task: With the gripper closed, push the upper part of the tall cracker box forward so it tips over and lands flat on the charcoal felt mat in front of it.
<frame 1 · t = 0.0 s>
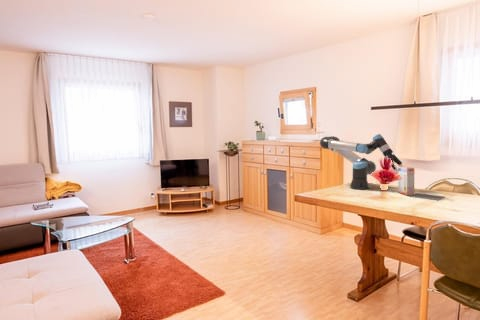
hand: (401, 172, 260), 15 cm above the table, tool tilted 35°, fingers open, 13 cm apart
cracker box: (406, 194, 245), on the table, touching felt mat
felt mat: (426, 196, 235), on the table
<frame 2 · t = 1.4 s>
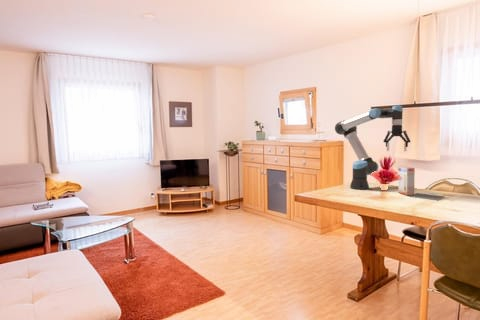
hand: (396, 151, 258), 33 cm above the table, tool pointing down, fingers open, 13 cm apart
nothing on the table moved.
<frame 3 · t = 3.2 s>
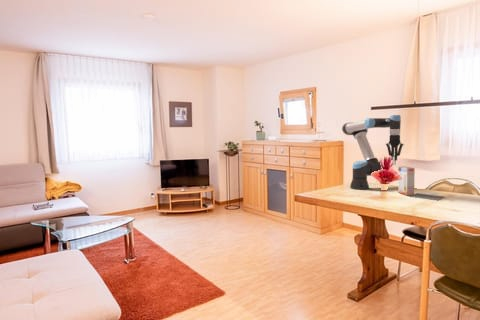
hand: (394, 164, 250), 22 cm above the table, tool pointing down, fingers closed
nothing on the table moved.
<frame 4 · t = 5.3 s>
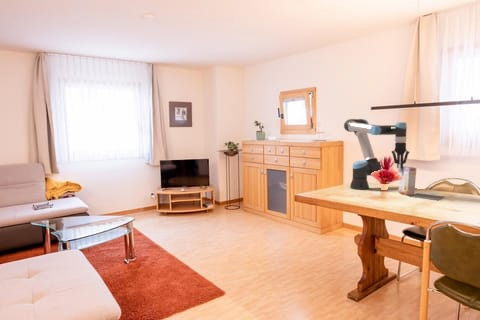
hand: (399, 172, 248), 17 cm above the table, tool pointing down, fingers closed
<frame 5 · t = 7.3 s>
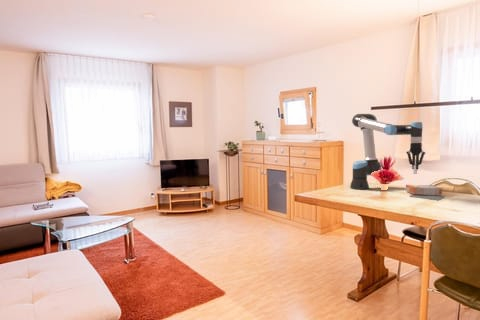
hand: (415, 173, 240), 17 cm above the table, tool pointing down, fingers closed
cracker box: (409, 189, 246), point 3 cm above the table, touching felt mat
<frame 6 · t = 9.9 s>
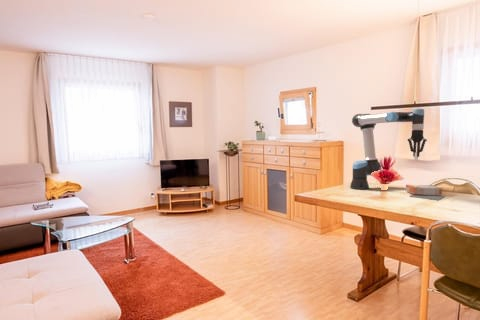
hand: (416, 161, 239), 26 cm above the table, tool pointing down, fingers closed
nothing on the table moved.
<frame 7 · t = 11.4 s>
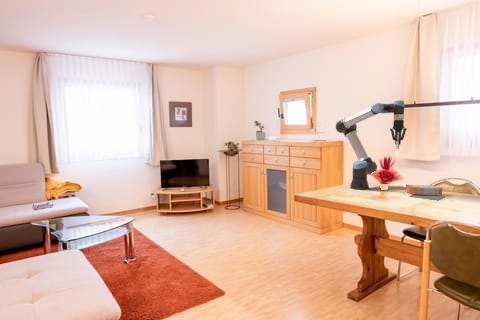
hand: (397, 148, 259), 34 cm above the table, tool pointing down, fingers closed
nothing on the table moved.
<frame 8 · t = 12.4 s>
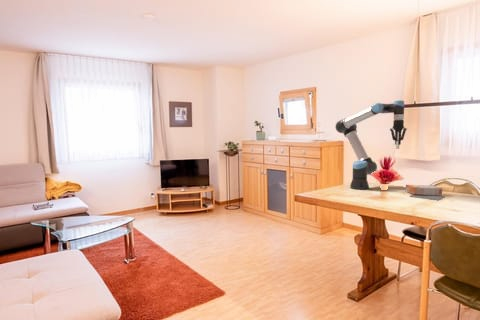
hand: (397, 148, 259), 34 cm above the table, tool pointing down, fingers closed
nothing on the table moved.
at the end: cracker box tilted 91°; cracker box point 3.5 cm above the table; cracker box inside the target area (13.8 cm from its centre), point 3.5 cm above the table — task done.
